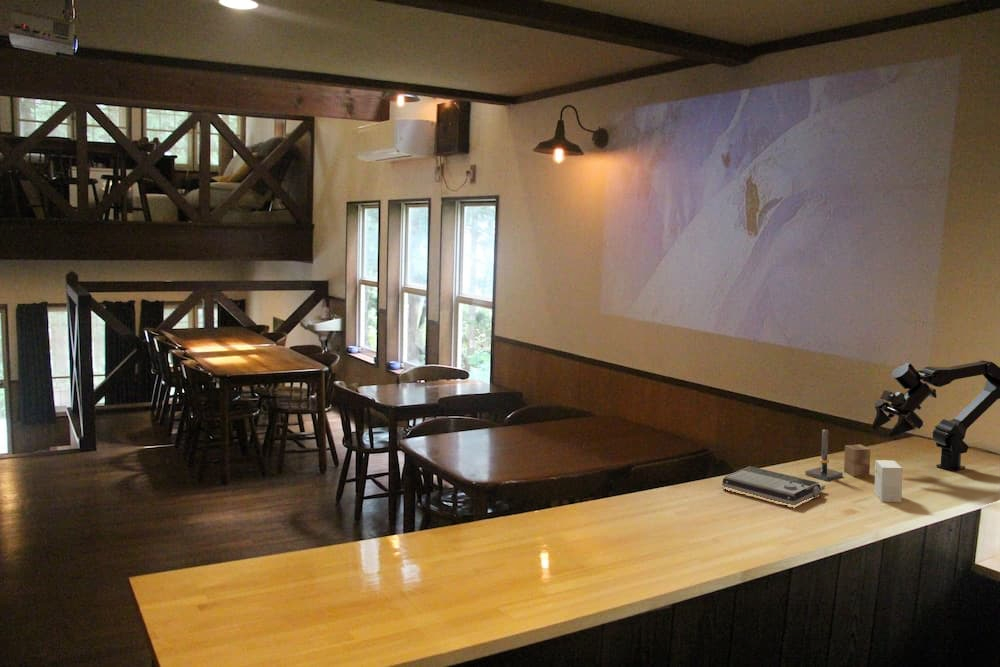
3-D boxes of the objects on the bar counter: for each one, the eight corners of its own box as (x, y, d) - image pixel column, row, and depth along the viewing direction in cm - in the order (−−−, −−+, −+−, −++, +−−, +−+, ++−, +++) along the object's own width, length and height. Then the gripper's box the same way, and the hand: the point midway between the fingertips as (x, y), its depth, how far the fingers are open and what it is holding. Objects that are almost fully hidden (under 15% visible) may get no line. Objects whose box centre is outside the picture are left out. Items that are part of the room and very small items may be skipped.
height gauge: (821, 470, 262) (822, 425, 260) (842, 476, 255) (843, 430, 253) (805, 474, 257) (806, 429, 255) (826, 481, 251) (828, 434, 249)
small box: (901, 502, 230) (903, 468, 228) (881, 502, 231) (882, 467, 230) (893, 493, 238) (895, 460, 236) (873, 493, 239) (875, 459, 237)
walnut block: (859, 470, 260) (860, 444, 259) (869, 475, 255) (870, 449, 253) (844, 471, 259) (845, 445, 258) (853, 477, 254) (854, 450, 253)
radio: (722, 474, 244) (756, 461, 257) (721, 491, 245) (756, 476, 258) (795, 493, 226) (829, 477, 239) (795, 510, 227) (828, 494, 240)
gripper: (880, 376, 264) (848, 410, 264) (916, 387, 245) (881, 423, 246) (901, 398, 266) (869, 431, 266) (938, 410, 247) (903, 446, 247)
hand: (880, 432), depth 256 cm, fingers open, 9 cm apart
